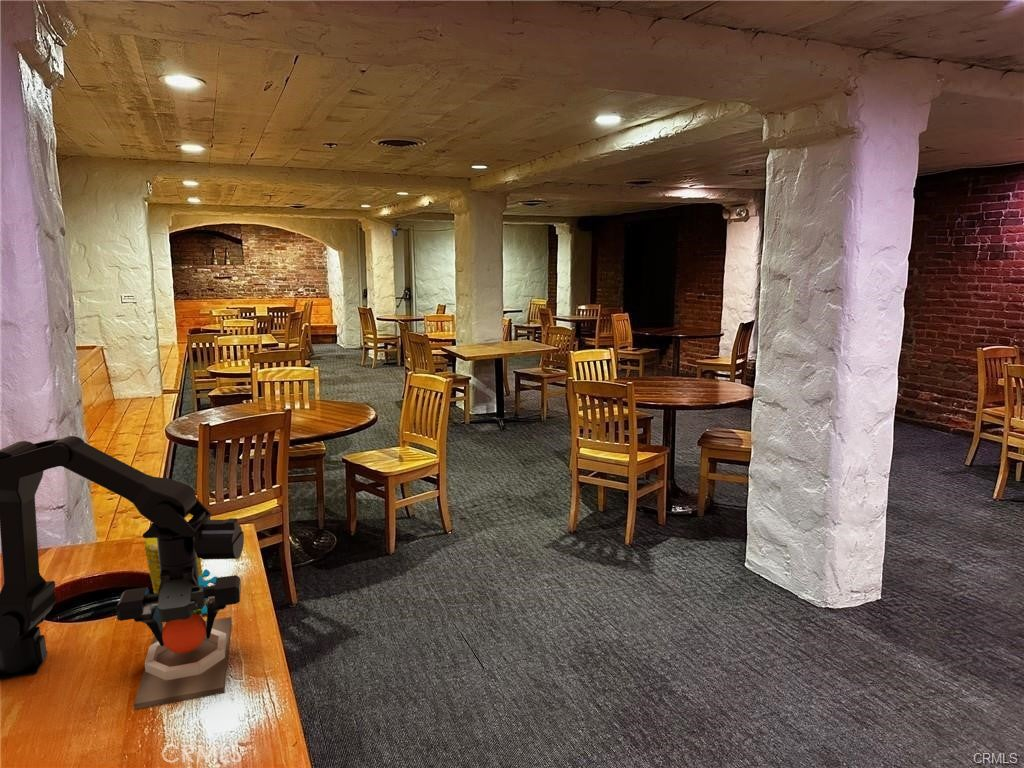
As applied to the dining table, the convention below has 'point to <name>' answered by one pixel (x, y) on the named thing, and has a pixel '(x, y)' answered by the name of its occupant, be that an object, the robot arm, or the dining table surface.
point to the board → (186, 687)
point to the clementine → (184, 633)
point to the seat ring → (185, 669)
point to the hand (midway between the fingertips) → (185, 641)
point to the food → (154, 566)
